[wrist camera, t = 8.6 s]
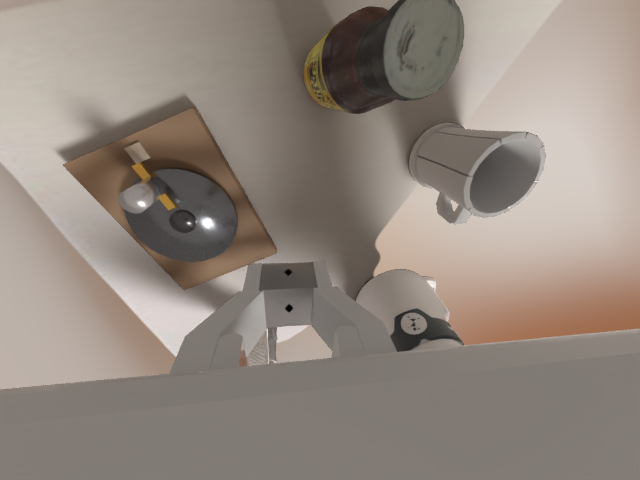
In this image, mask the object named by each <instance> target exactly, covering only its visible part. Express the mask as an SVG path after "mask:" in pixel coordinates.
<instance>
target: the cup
mask: <svg viewBox="0 0 640 480" xmlns="http://www.w3.org/2000/svg"><path fill="white" fill-rule="evenodd" d="M545 158H546V154H545V148H544V145H543V142H542V141H541V140H540V139H539V137H538V136H537V135H534V134H531V133H529V132H509V131H483V130H471V129H465V128H464V127H463V126H460V125H457V124H454V123H441V124H438V125H435V126H433V127H431V128H429V129H428V130H427V131H426V132H424V133H423V134H422V135H421V136H420V137H419V139H418V140H417V141H416V143H415V144H414V147H413V149H412V151H411V154H410V159H409V168H410V173H411V175H412V177H413V179H414V180H415V181H416V182H418V183H419V184H421V185H422V186H425V187H428V188H434V189H436V190H437V191H439V192H440V194H439V197H438V200H437V203H436V205H437V211H438V214H439V215H441V216H442V217H443V218H444V219H445V220H446V221H448V222H449V223H450V224H453V225H458V224H463V223H466V222H467V221H468V219H469V218H470V216H471V215H472V214H473V215H474V216H478V217H482V218H486V217H495V216H498V215H500V214H502V213H505V212H507V211H509V210H510V209H512V208H513V207H515V206H516V205H518V204H519V203H520V202H521V201H522V200H523V199H524V198H525V197H526V196H528V195H529V193H530V192H531V191H532V189H533V188H534V186H535V185H536V184H537V182H534V181H538V180H539V178H540V176H541V174H542V171H543V169H544V164H545ZM451 199H452V200H453V201H455V202H456V203H457V204H459V205H458V207H457V209H456V210H455V212H454V211H453V209H452V205H451Z"/></svg>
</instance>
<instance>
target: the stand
mask: <svg viewBox="0 0 640 480" xmlns="http://www.w3.org/2000/svg"><path fill="white" fill-rule="evenodd" d="M140 162H142V163H143V165H144V166H145V167H146V168H147V170H148V171H149V172H152V171H154V170H157V169H162V168H170V167H175V168H185V169H189V170H193V171H196V172H199V173H201V174H203V175H205V176H207V177H209V178H211V179H212V180H214V181H215V182H216V183H218V184H219V185H220V186H221V187H222V188H223V189H224V190H225V191H226V192H227V193H228V195H229V196H230V197H231V199H232V201H233V203H234V205H235V207H236V210H237V214H238V228H237V232H236V235H235V238H234V240H233V242H232V244H231V245H230V246H229V247H228V249H226V250H225V251H224V252H223V253H221V254H220V255H218V256H216V257H214V258H212V259H209V260H205V261H198V262H186V261H179V260H174V259H171V258H168V257H165V256H163V255H160V254H158V253H156V252H155V251H153V250H151V249H150V248H149V247H147V246H146V245H145V244H144V243H142V242H141V241H140V240H139V239H138V237H137V236H136V235H135V234H134V232H133V231H132V230H131V228H130V226H129V224H128V221H127V219H126V215H125V209H124V208H123V207H122V206H121V205H120V204H119V201H118V196H119V194H120V193H121V192H123V191H125V190H126V189H128V188H130V187H131V186H132V185H133V184H134V182H135V181H137V180H138V179H139V178H141V177H140V176H139V175H138V173H137V172H136V171H135V170H134V169H133V168H132V166H133V165H135V164H137V163H140ZM63 166H64V167H65V168H66V169H67V170H68V171H69V172H70V173H71V174H72V175H73V176H74V177H75V178H76V179H77V180H78V181H79V182H80V184H81V185H82V186H83V187H84V188H85V189H86V190H87V191H88V192H89V193H90V194H91V195H92V196H93V197H94V198H95V199H96V200H97V201H98V202H99V203H100V204H101V205H102V206H103V207H104V208H105V209H106V210H107V211H108V212H109V213H110V214H111V215H112V217H113V218H114V219H115V220H116V221H117V222H118V223H119V224H120V225H121V226H122V227H123V228H124V229H125V230H126V231H127V232H128V233H129V234H130V235H131V236H132V237H133V238H134V239H135V240H136V241H137V242H138V243H139V244H140V245H141V246H142V247H143V248H144V250H145V251H146V252H147V253H148V254H149V255H150V256H151V257H152V258H153V259H154V260H155V261H156V262H157V263H158V264H159V265H160V266H161V267H162V268H163V269H164V270H165V271H166V272H167V273H168V274H169V275H170V276H171V277H172V278H173V279H174V280H175V281H176V283H177V284H178V285H179V286H180V287H181V288H182V289H183V290H186V289H189V288H191V287H194V286H196V285H199V284H201V283H204V282H206V281H209V280H211V279H214V278H216V277H219V276H221V275H224V274H226V273H229V272H231V271H234V270H236V269H239V268H241V267H244V266H246V265H249V264H251V263H254V262H256V261H259V260H261V259H264V258H266V257H268V256H271V255H273V254H276V253H277V248H276V246H275V244H274V243H273V241H272V239H271V237H270V236H269V234H268V232H267V230H266V229H265V227H264V225H263V223H262V222H261V220H260V218H259V216H258V215H257V213H256V211H255V209H254V208H253V206H252V204H251V202H250V201H249V199H248V197H247V195H246V194H245V192H244V190H243V188H242V187H241V185H240V183H239V181H238V180H237V178H236V176H235V174H234V173H233V171H232V169H231V168H230V166H229V164H228V162H227V161H226V159H225V157H224V155H223V154H222V152H221V150H220V148H219V147H218V145H217V143H216V141H215V140H214V138H213V136H212V134H211V133H210V131H209V129H208V127H207V126H206V124H205V122H204V120H203V119H202V117H201V115H200V113H199V112H198V110H197V108H191V109H189V110H186V111H184V112H182V113H179V114H177V115H175V116H173V117H170V118H168V119H166V120H164V121H161V122H159V123H157V124H154V125H152V126H150V127H148V128H145V129H143V130H141V131H138V132H136V133H134V134H132V135H129V136H127V137H125V138H122V139H120V140H118V141H116V142H113V143H111V144H109V145H107V146H104V147H102V148H100V149H97V150H95V151H93V152H91V153H88V154H86V155H84V156H81V157H79V158H77V159H75V160H72V161H70V162H68V163H66V164H63Z"/></svg>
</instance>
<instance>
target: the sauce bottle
mask: <svg viewBox="0 0 640 480" xmlns="http://www.w3.org/2000/svg"><path fill="white" fill-rule="evenodd" d="M463 38H464V24H463V17H462V13H461V11H460V9H459V7H458V6H457V4H456V2H455V0H399V1H397V2H396V3H395V5H394V6H393V7H392V8H391V9H390V10H389V11H388V10H387V9H384V8H382V7H381V8H380V7H365V8H363V9H361V10H358V11H356V12H354V13H352V14H350V15H349V16H348V17H347V18H345V19H343V20H342V21H340V22H339V23H338V24H336V25H335V26H334V27H333V28H332V29H331V30H330V31H329V32H328V33H327V34H326V35H325V36H324V37H323V38H322V39H321V40H320V41H319V42H318V43H317V44H316V45H315V46H314V47H313V48H312V49H311V51H310V52H309V54H308V56H307V58H306V61H305V65H304V74H303V77H304V82H305V86H306V89H307V91H308V93H309V95H310V96H311V98H312V99H313V100H314V101H315V102H316V103H317V104H319V105H321V106H323V107H326V108H331V109H335V110H339V111H345V112H349V113H354V114H360V113H365V112H367V111H370V110H372V109H375V108H377V107H380V106H382V105H385V104H387V103H390V102H392V101H393V100H395V99H397V100H403V101H407V100H417V99H421V98H424V97H427V96H429V95H431V94H432V93H434V92H435V91H436V90H438V89H439V88H440V87H442V85H443V84H444V83H445V82H446V81H447V80H448V78H449V77H450V75H451V74H452V72H453V71H454V68H455V66H456V64H457V62H458V60H459V56H460V52H461V50H462V47H463Z"/></svg>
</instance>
